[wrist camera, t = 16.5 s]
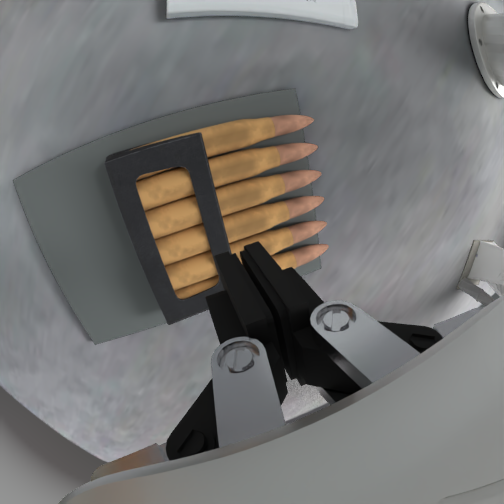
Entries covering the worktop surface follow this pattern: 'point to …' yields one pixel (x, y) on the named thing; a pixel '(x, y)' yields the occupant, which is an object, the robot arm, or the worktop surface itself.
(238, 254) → the ammunition clip
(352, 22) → the external hard drive
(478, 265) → the skyscraper
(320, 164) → the worktop surface
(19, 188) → the mat
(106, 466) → the robot arm
